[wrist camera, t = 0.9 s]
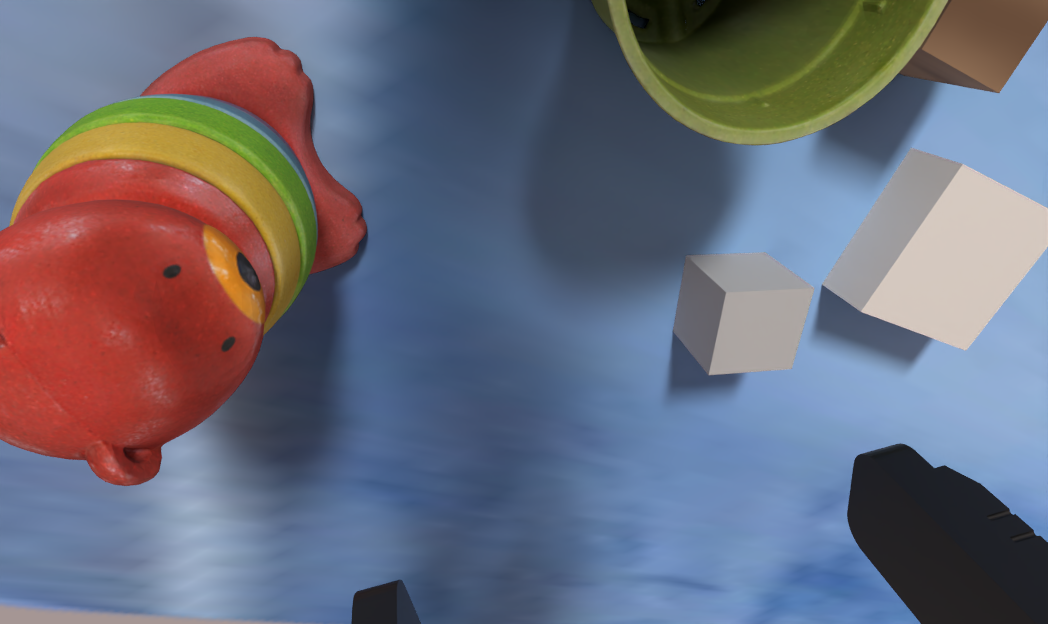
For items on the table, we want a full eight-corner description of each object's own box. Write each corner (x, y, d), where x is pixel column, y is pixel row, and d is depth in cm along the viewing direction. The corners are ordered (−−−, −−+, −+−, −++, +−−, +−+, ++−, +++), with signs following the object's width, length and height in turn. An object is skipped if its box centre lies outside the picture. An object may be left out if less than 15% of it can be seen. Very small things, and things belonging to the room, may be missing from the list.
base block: (907, 146, 36) (962, 164, 32) (1007, 198, 39) (1069, 219, 35) (818, 282, 39) (860, 311, 35) (918, 320, 42) (966, 350, 38)
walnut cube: (892, -69, 30) (999, -79, 24) (963, -23, 31) (1077, -24, 26) (833, 37, 32) (921, 49, 26) (903, 75, 33) (999, 93, 28)
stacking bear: (379, 246, 32) (369, 493, 17) (187, 305, 32) (-5, 615, 16) (289, 23, 27) (152, 83, 11) (56, 91, 26) (-416, 248, 11)
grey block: (685, 254, 36) (726, 292, 32) (764, 251, 37) (814, 288, 32) (672, 330, 38) (708, 375, 34) (746, 325, 39) (791, 368, 35)
